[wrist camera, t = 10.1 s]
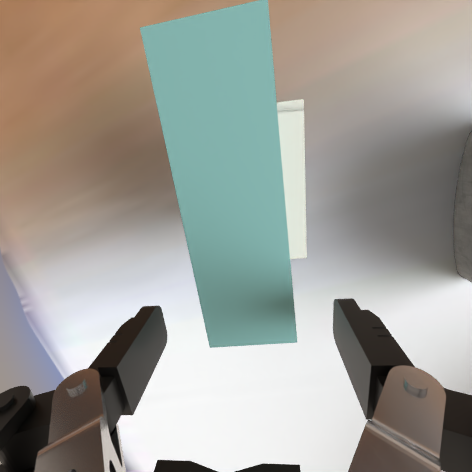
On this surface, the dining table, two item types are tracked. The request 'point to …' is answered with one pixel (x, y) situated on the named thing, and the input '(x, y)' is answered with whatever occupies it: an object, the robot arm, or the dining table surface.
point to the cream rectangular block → (293, 173)
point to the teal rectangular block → (227, 167)
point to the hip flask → (464, 215)
